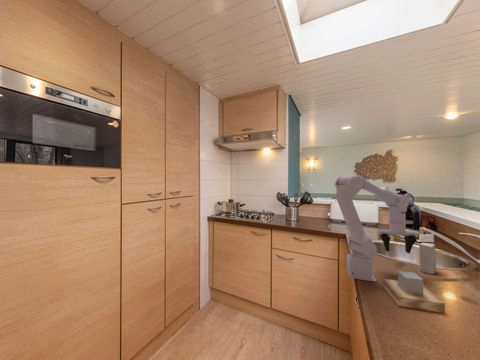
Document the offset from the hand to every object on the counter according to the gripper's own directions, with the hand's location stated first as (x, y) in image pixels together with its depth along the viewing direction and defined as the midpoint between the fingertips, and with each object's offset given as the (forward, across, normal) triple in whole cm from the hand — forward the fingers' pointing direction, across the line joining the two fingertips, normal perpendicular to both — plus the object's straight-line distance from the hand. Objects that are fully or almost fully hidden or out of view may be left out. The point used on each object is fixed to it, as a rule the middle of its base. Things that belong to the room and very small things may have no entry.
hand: (397, 251), depth 85 cm
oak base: (+9, -5, -21) cm, 24 cm away
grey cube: (+6, -5, -21) cm, 22 cm away
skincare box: (+10, +14, +6) cm, 18 cm away
